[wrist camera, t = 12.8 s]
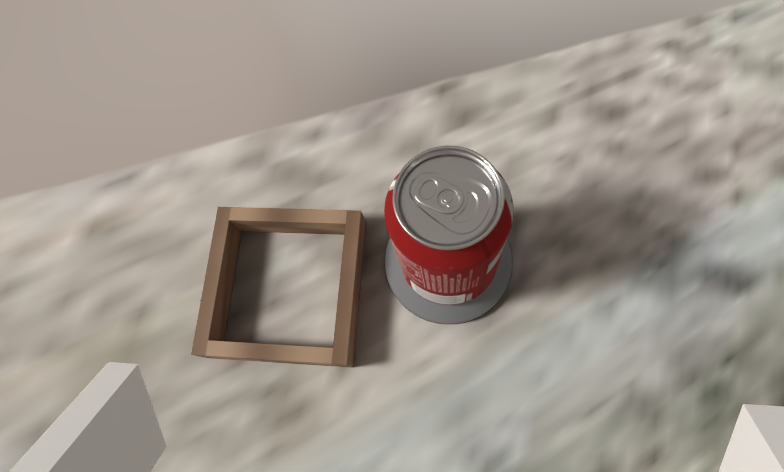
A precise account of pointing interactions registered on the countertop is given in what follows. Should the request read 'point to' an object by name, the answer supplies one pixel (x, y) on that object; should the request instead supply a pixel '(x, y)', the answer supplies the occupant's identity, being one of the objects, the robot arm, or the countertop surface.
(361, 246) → the frame
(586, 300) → the countertop surface
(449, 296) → the soda can
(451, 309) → the coaster
